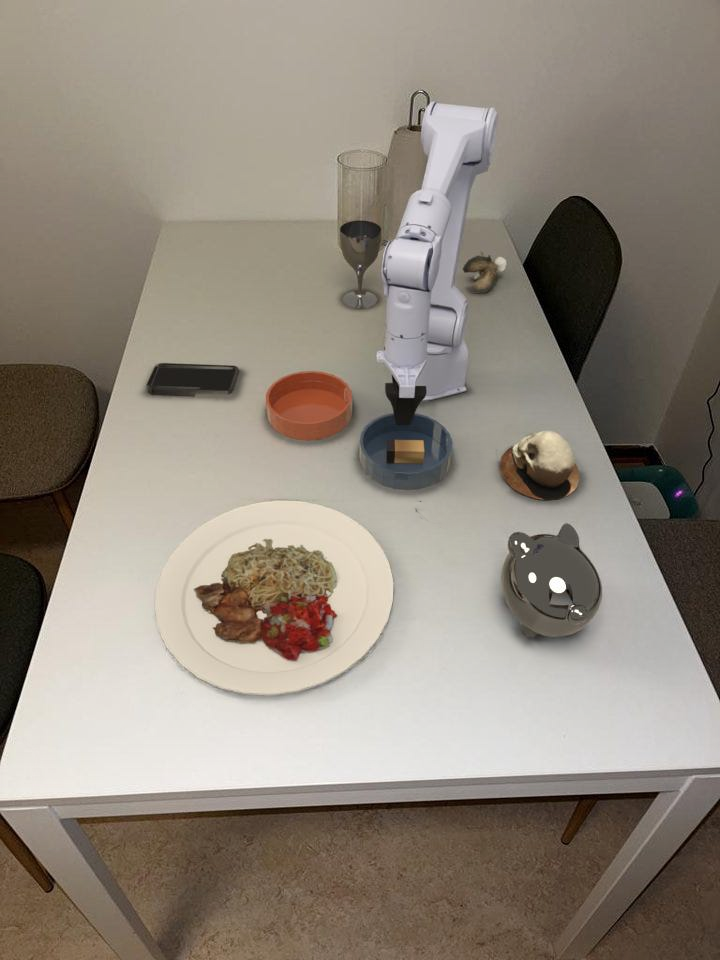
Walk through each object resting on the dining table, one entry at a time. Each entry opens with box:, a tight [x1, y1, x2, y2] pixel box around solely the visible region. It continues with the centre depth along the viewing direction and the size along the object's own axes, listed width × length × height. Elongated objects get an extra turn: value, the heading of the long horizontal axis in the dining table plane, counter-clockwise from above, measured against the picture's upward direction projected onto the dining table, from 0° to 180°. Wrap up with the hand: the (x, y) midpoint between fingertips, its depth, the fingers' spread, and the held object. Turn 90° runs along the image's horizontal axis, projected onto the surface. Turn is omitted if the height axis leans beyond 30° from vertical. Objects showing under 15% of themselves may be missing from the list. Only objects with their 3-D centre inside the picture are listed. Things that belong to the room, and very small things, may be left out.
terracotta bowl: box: [265, 370, 353, 441], centre depth 113 cm, size 14×14×4 cm
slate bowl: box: [358, 412, 454, 491], centre depth 106 cm, size 14×14×4 cm
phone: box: [145, 362, 240, 397], centre depth 121 cm, size 8×1×15 cm
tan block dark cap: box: [386, 439, 424, 464], centre depth 106 cm, size 6×3×3 cm, turn 89°
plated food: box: [154, 499, 394, 696], centre depth 87 cm, size 30×30×3 cm
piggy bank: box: [500, 523, 603, 639], centre depth 83 cm, size 11×15×12 cm
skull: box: [499, 430, 581, 501], centre depth 104 cm, size 12×10×10 cm
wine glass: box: [339, 219, 382, 310], centre depth 137 cm, size 8×8×15 cm
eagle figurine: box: [462, 250, 507, 294], centre depth 145 cm, size 8×7×9 cm
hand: (402, 407), depth 102 cm, fingers open, 7 cm apart
